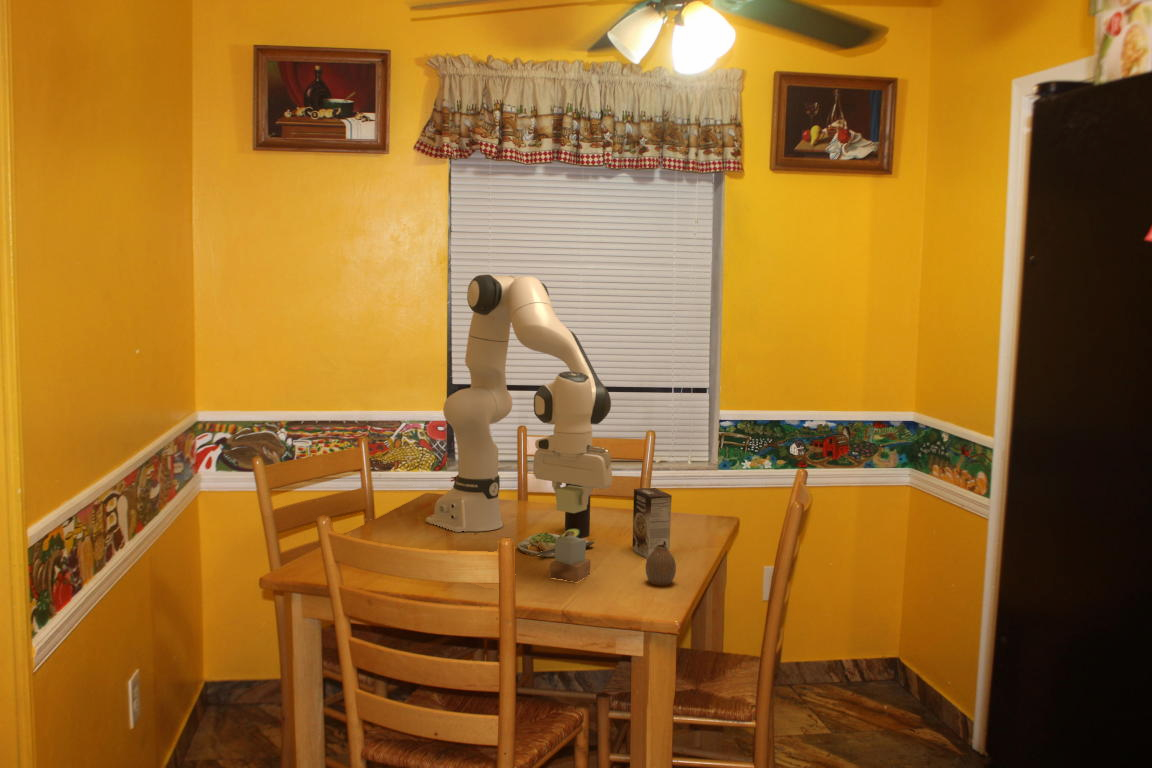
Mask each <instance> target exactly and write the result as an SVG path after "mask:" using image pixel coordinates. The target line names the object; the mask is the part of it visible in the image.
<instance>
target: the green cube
mask: <svg viewBox="0 0 1152 768" xmlns="http://www.w3.org/2000/svg"><path fill="white" fill-rule="evenodd" d="M584 492H585V491H583V487H577V486H571V485H568V486H566V485H565V486H561V488H557V501H556V505H555V506H556V511H558V512H559V511H560V512H564V513H565V512H569V513H577V512H580V511H583V510H586V509H587V505H585V506H584V505H579V497H582V496H583V494H584Z"/></svg>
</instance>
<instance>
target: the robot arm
mask: <svg viewBox="0 0 1152 768" xmlns="http://www.w3.org/2000/svg"><path fill="white" fill-rule="evenodd" d="M466 299H467V304H468V306H469V308H470V309H471V311H472V312H473V313H472V317H471V321H470V325H469V329H468V335H467V344H466V353H465V358H464V359H465V360H464V363H465V366H466V367H467V369H468V370H469V375H470V387H467V388H463V389H458V390H457V391H456V392H453V393H452V394H451V395H449V396H448V397H447V398H446V400H445V401H444V403H443V408H442V409H443V411H442V412H443V416H444V419H445V420H446V422H447V423H448V424H449V425H450V426H451V429H452V431H453V433H454V437H455V441H456V444H457V445H456V446H457V461H458V462H457V465H458V466H457V467H458V468H457V469H458V470H457V475H456V476H451V477H450V479H451V480H450V482H454V483H453V486H452V488H450V489H449V490H448V491H447V492H446V493H444V494H443V495H442V496H440V497H439V498H438V499H437V500H436V502H435V505H434V514H432V515H428V516H427V517H426V519H425V522H426V523H427V522H428V524H431V525H433V524H434V525H433V526H436V525H437V526H436V527H439V526H440V527H439V528H442V527H443V528H442V529H445V528H446V530H448V529H449V530H448V531H451V530H452V531H451V532H454V531H455V532H454V533H461V532H462V531H464V532H486V531H487V532H488V531H493V530H498V529H501V528H502V527H503V526H504V522H503V518H502V512H501V507H500V506H501V505H500V497H499V493H500V484H501V483H500V481H501V480H500V474H499V447H498V446H497V444H496V443H495V442H494V440H493V438H492V434H491V429H490V428H491V427H490V425H493V424H495V423H498V422H500V421H502V420H503V419H505V418H506V417H507V416H508V415H510V413H511V411H512V408H513V399H512V396H511V394H510V392H509V390H508V388H507V378H506V363H507V355H508V348H509V340H510V332H511V327H512V329H513V332H514V335H515V337H516V339H517V340H518V342H519V343H520V344H521V345H522V346H524V347H525V348H527V349H529V350H532V351H535V352H539V353H543V354H546V355H549V356H552V357H555V358H557V359H559V360H561V361H562V362H564V364H565V365H566V366H567V367H568V370H569V371H563V372H560V373H558V374H557V375H556V376H555V377H556V378H555V380H554V381H552V382H550V383H547V384H543V385H541V386H540V387H539V388H538V389H537V391H536V392H535V394H534V396H533V412H534V415H535V416H536V418H537V419H538V420H539V421H540V422H541V423H543V424H548V425H554V426H553V434H552V435H548V436H546V437H542V438H539V439H536V440H535V443H534V444H535V449H536V450H535V452H534V455H533V469H532V471H533V472H532V473H533V475H534V477H535V479H537V480H542V481H543V480H544V481H549V482H551V487H552V489H553V492H554V493H555V501H556V502H557V488H561V487H562V485H563V484H565V485H566V484H572V485H579V486H583V491H585V492H584V494H583V496H582V497H579V505H584V506H585V505H588V497H589V496H590V497H591V494H592V492H593V489H598V490H605V489H608V488H610V487H611V485H612V484H613V471H612V468H613V467H612V455H611V453H610V451H609V450H608V449H606V447H602V446H597V445H596V446H595V445H593V427H592V425H599V424H600V423H602V422H603V421H604V419H605V418H606V417H607V416H608V415H609V414H610V412H611V411H610V410H611V408H612V399H611V395H610V393H609V391H608V389H607V387H605V385H604V384H603V383H602V381H601V380H600V379H599V377H598V375H597V373H596V371H595V369H594V367H593V366H592V363H591V362H590V359H589V357H588V355H587V353H586V352H585V350H584V348H583V346H582V344H581V341H580V340H579V339H578V337H577V336H576V334H575V333H574V332H573V331H571V330H570V329H568V328H567V327H566V326H565V325H564V324H563V322H561V320H560V319H559V318H558V316H557V315H556V312H555V310H554V307H553V303H552V301H551V299H550V294H549V290H548V287H547V286H546V284H544V283H543V282H541V280H539V279H538V278H536V277H534V276H530V275H529V276H528V275H525V276H524V275H523V276H515V275H509V276H508V275H490V274H479V275H476V276H474V278H473V279H471V281H470V282H469V284H468V288H467V297H466Z"/></svg>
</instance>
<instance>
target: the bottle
mask: <svg viewBox="0 0 1152 768" xmlns="http://www.w3.org/2000/svg"><path fill="white" fill-rule="evenodd" d="M568 485H571V486H577V487H583V486H579V485H572V484H566V483H565V486H568ZM590 525H591V495H590V496H589V497H588V505H587V509H586V510H583V511H580V512H577V513H569V512H564V531H567V530H569V529H579V530H580V531H581V534H582V538H586V537H589V535H590V531H591V529H590Z"/></svg>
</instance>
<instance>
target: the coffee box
mask: <svg viewBox="0 0 1152 768" xmlns="http://www.w3.org/2000/svg"><path fill="white" fill-rule="evenodd" d="M672 496H673V495H672V494H669V493H667V492H665V491H663V490H661V489H658V488H656V487H651V488H650V487H646V488H645V487H642V488H633V507H632V508H633V517H632V518H633V519H632V547H631V548H632V549H631V550H632V551H633V552H635V553H637V554H638V555H640V556H642V557H643V558H645V559H646V560H647V559H648V557H649V555H650V554H651V553H652V552H653V550H654V549H655V547H656V545H660V544H661V545H666V546H667V548H668V550H669V551H670V546H671V545H670V544H671V542H670V541H671V525H672V524H671V523H672V522H671V521H672Z"/></svg>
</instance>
